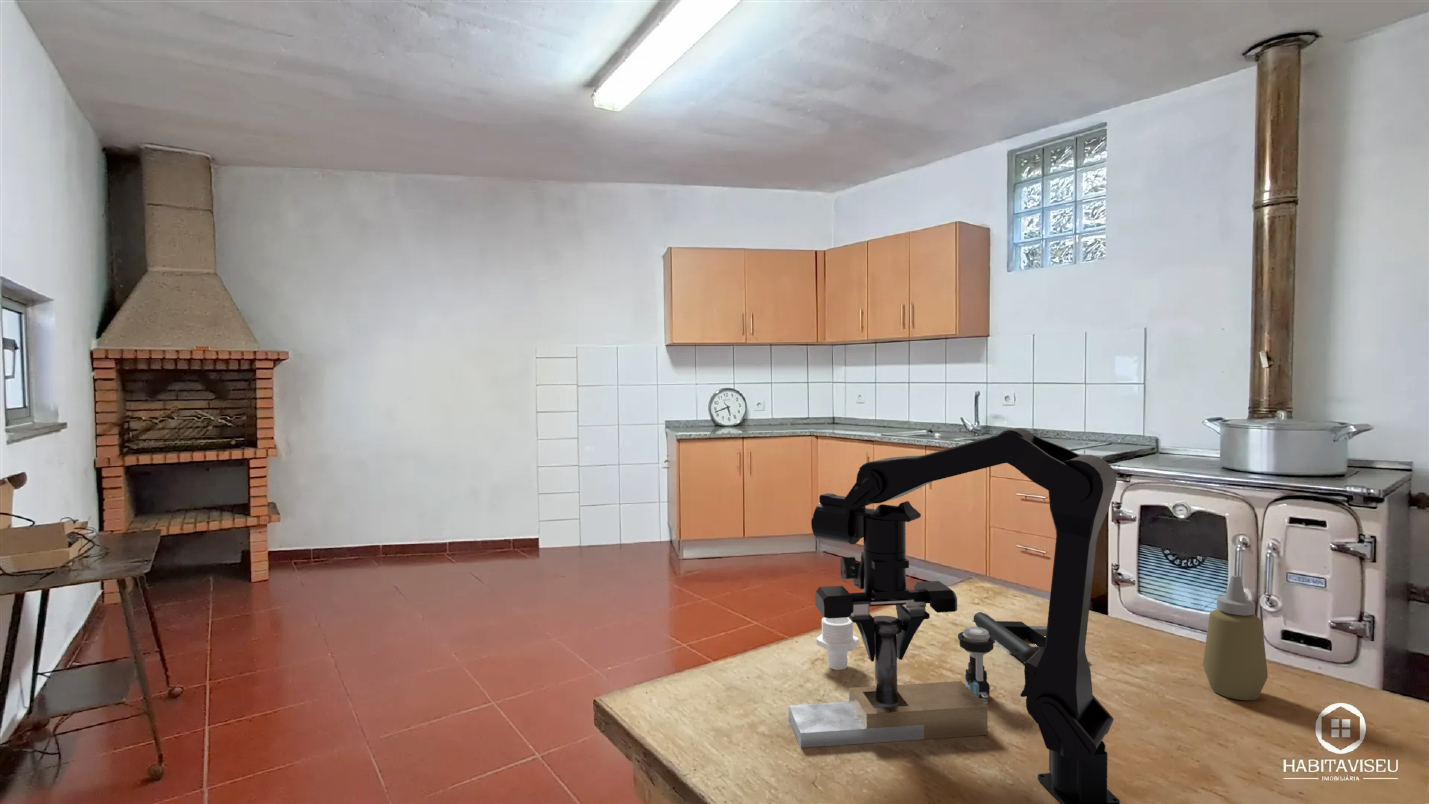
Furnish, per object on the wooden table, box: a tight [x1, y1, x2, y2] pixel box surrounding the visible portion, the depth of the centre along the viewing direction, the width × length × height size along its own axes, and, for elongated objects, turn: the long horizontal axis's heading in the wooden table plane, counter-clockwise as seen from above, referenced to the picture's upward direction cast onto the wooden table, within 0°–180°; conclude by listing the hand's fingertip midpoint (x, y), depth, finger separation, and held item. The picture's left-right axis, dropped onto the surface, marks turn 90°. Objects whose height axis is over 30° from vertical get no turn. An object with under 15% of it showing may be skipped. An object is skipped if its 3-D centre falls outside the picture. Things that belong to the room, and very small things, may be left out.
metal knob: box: [872, 615, 902, 705], centre depth 99 cm, size 4×4×11 cm
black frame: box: [973, 611, 1047, 664], centre depth 129 cm, size 3×20×16 cm
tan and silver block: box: [788, 680, 989, 749], centre depth 100 cm, size 8×26×4 cm, turn 96°
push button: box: [957, 626, 996, 705], centre depth 108 cm, size 7×5×10 cm
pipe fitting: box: [815, 616, 860, 671], centre depth 120 cm, size 6×7×8 cm
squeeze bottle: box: [1202, 574, 1269, 701], centre depth 108 cm, size 8×8×18 cm
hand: (885, 659), depth 99 cm, fingers closed on metal knob, 4 cm apart
